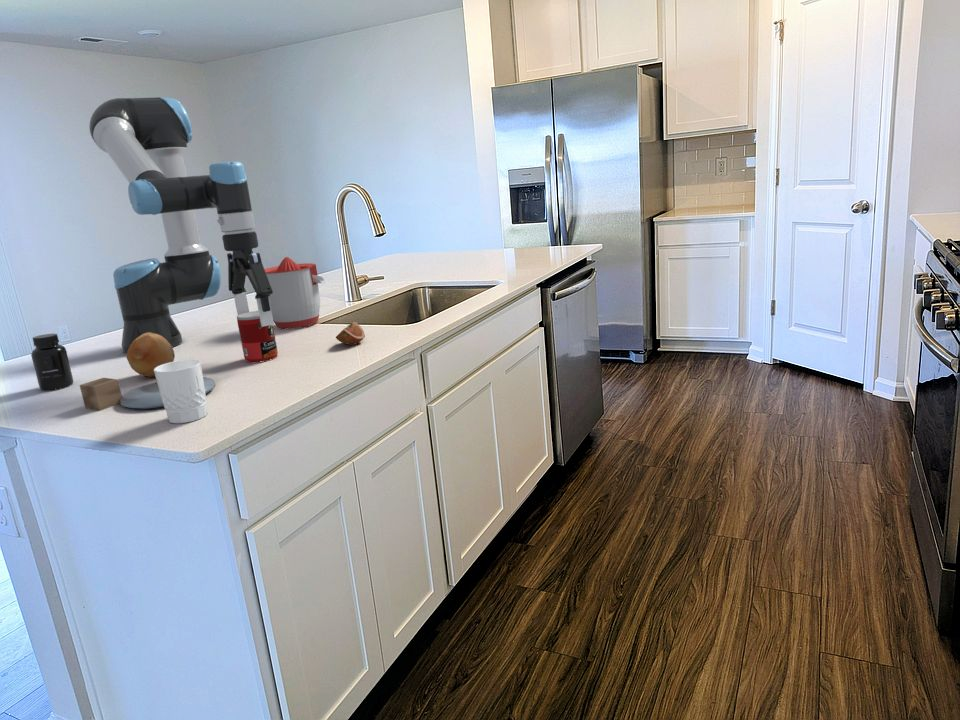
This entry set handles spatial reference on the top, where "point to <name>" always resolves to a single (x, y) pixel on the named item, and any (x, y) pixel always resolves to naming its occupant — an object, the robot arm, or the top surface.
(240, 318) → the canned food
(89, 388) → the walnut block
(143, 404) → the plate
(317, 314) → the citrus juicer
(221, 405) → the top surface
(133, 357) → the onion
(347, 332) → the fruit slice
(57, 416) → the top surface
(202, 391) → the white cup
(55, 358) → the supplement bottle
